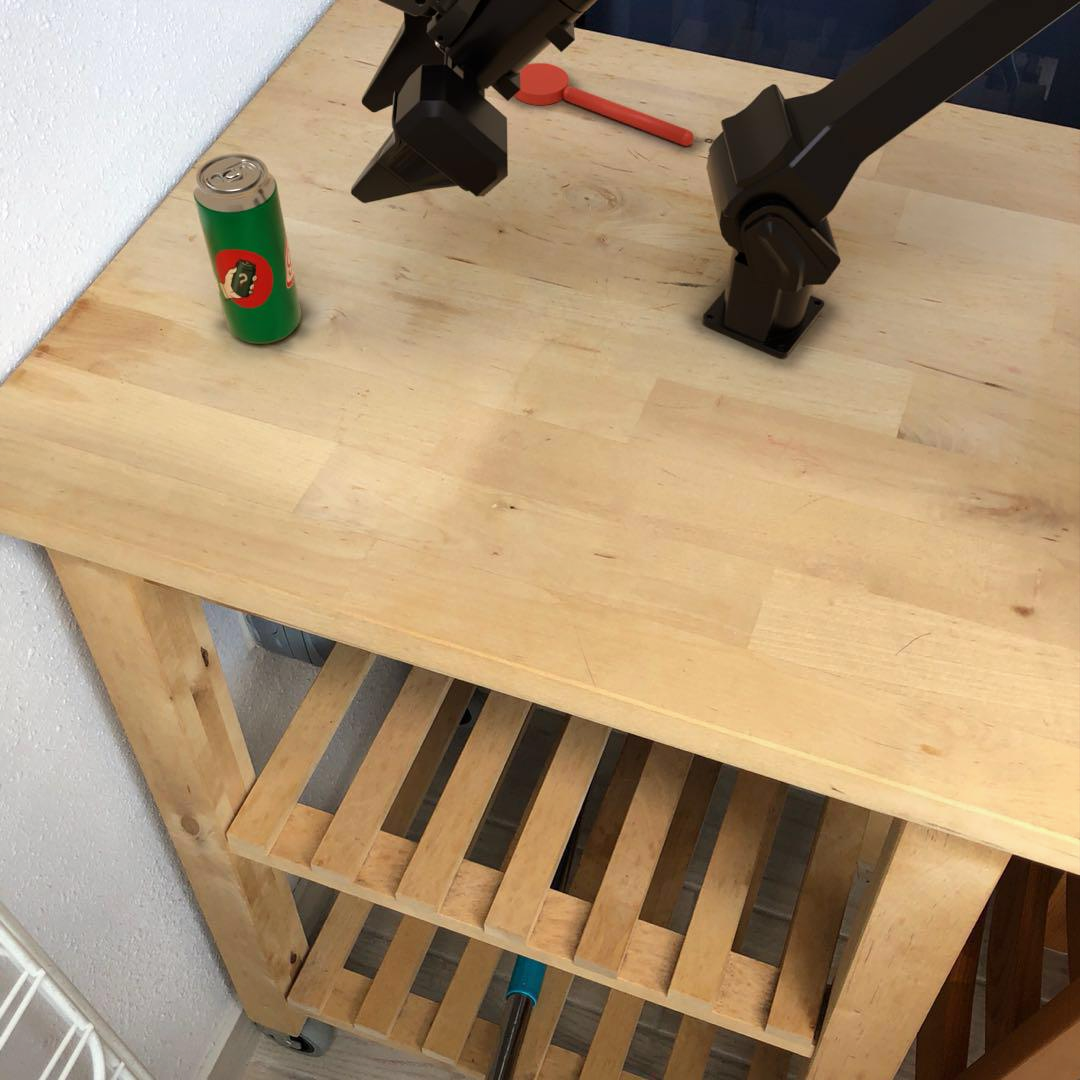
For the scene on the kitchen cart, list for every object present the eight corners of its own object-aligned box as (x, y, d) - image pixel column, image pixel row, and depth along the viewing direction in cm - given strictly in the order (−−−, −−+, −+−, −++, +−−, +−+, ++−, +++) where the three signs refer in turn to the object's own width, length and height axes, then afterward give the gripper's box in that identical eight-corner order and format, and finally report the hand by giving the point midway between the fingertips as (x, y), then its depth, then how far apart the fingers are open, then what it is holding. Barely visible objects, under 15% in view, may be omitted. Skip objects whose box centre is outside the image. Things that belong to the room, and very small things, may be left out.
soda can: (315, 330, 81) (288, 180, 72) (247, 359, 79) (210, 209, 70) (281, 290, 84) (251, 140, 74) (215, 316, 82) (175, 166, 72)
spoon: (706, 132, 96) (708, 119, 95) (677, 161, 94) (678, 148, 93) (531, 67, 102) (532, 54, 101) (500, 93, 99) (499, 80, 98)
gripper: (441, -224, 64) (268, -22, 72) (430, -59, 52) (226, 159, 61) (581, -74, 70) (407, 96, 79) (599, 103, 59) (393, 280, 67)
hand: (362, 150), depth 71 cm, fingers open, 9 cm apart
